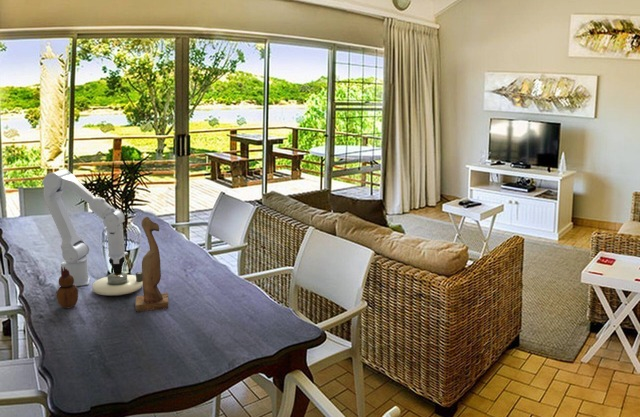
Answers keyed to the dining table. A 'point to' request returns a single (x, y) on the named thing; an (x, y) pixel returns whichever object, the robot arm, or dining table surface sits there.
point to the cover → (117, 278)
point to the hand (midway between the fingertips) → (118, 276)
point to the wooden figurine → (67, 290)
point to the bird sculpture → (151, 273)
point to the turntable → (106, 289)
